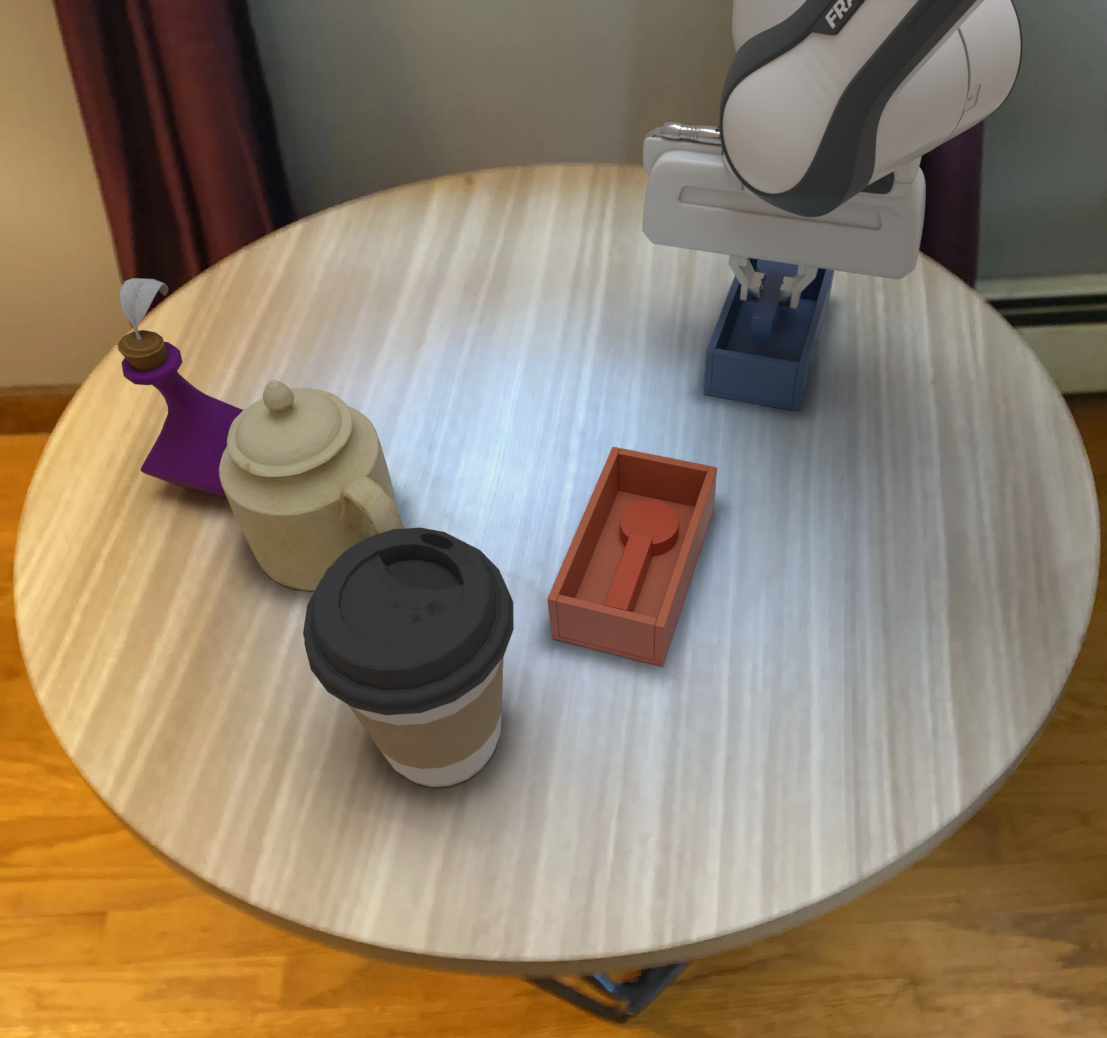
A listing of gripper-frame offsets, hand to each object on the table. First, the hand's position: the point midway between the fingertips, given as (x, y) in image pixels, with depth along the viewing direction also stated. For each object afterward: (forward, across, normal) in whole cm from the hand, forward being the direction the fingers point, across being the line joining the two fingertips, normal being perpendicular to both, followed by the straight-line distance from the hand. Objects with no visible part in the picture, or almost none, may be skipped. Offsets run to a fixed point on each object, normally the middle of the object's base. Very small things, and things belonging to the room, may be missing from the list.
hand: (770, 300), depth 81 cm
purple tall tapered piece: (+7, -38, -24) cm, 45 cm away
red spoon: (+6, -4, -24) cm, 25 cm away
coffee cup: (+6, -12, -40) cm, 42 cm away
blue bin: (+6, 0, +2) cm, 7 cm away
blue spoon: (+2, 0, +2) cm, 3 cm away
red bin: (+6, -4, -24) cm, 25 cm away
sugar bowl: (+7, -25, -27) cm, 37 cm away
